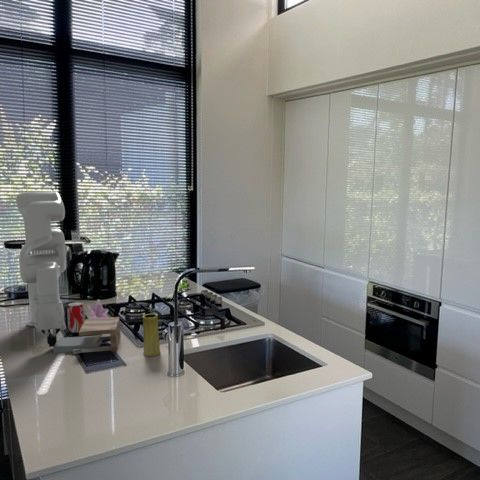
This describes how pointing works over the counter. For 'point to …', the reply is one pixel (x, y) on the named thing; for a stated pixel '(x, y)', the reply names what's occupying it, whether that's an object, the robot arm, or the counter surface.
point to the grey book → (76, 343)
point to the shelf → (101, 327)
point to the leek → (180, 288)
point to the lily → (98, 311)
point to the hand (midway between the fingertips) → (52, 345)
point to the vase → (151, 335)
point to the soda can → (75, 316)
